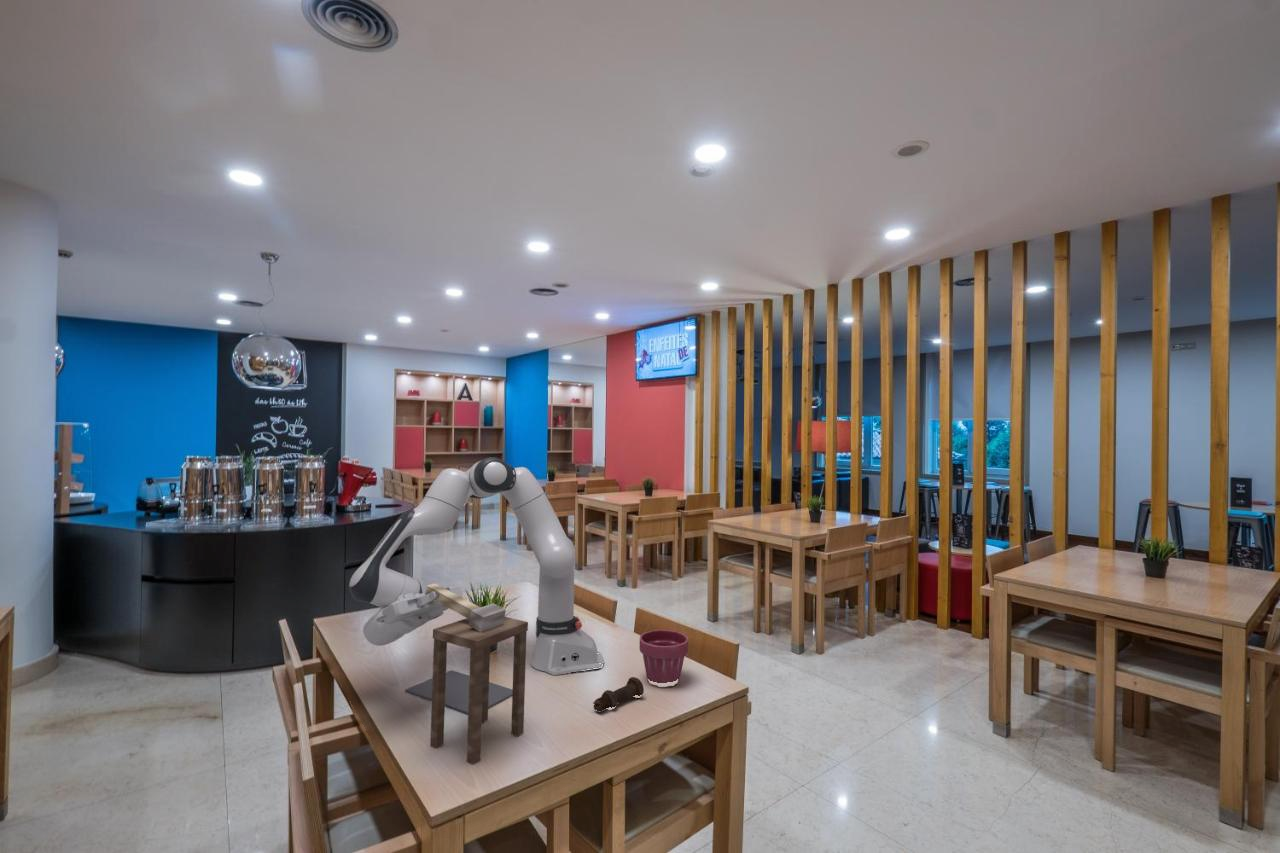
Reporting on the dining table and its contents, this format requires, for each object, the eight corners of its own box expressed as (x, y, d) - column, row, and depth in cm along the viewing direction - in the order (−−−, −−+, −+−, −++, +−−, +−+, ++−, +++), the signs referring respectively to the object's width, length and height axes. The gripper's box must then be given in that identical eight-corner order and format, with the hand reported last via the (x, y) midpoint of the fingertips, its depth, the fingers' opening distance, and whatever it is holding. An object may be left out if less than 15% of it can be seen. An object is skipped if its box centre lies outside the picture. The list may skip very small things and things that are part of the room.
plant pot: (656, 696, 155) (657, 649, 156) (629, 678, 167) (630, 634, 167) (697, 685, 163) (698, 640, 163) (668, 668, 175) (669, 626, 175)
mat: (405, 691, 154) (405, 689, 154) (451, 672, 168) (451, 670, 168) (473, 716, 141) (473, 714, 141) (517, 693, 155) (517, 691, 155)
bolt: (594, 720, 145) (635, 700, 156) (606, 716, 142) (646, 696, 153) (587, 696, 147) (627, 678, 158) (598, 692, 144) (639, 674, 155)
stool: (428, 746, 127) (433, 629, 128) (481, 717, 141) (485, 612, 142) (473, 765, 120) (477, 641, 121) (524, 733, 134) (528, 622, 135)
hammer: (417, 596, 138) (420, 582, 137) (440, 590, 144) (443, 577, 143) (480, 632, 127) (483, 617, 126) (503, 624, 133) (505, 609, 132)
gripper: (368, 610, 136) (402, 588, 130) (438, 592, 154) (470, 572, 148) (376, 635, 134) (410, 615, 128) (445, 614, 152) (478, 595, 146)
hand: (443, 592), depth 138 cm, fingers closed on hammer, 3 cm apart
